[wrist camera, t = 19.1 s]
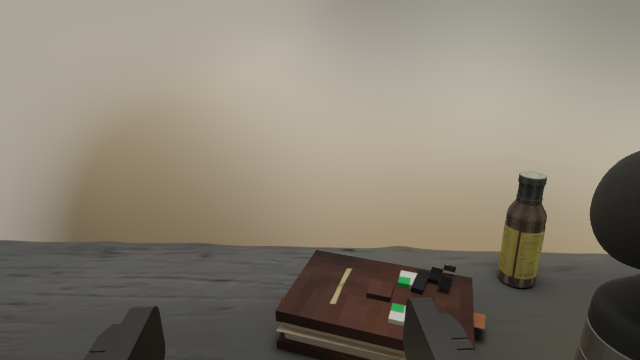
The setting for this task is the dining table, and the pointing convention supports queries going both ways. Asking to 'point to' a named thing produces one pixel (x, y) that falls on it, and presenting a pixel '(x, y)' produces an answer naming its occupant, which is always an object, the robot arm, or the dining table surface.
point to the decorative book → (365, 307)
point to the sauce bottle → (523, 233)
